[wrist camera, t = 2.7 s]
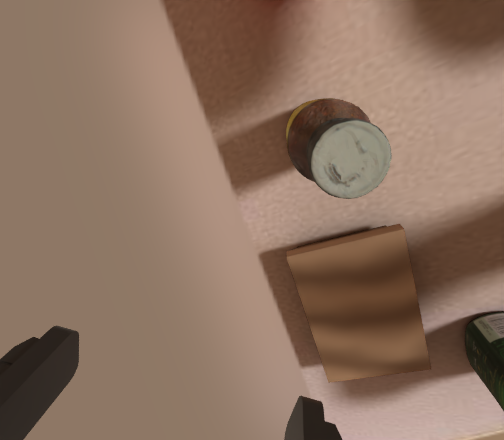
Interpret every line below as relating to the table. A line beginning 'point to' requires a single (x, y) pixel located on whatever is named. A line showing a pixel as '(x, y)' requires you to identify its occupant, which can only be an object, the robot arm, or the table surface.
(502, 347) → the coffee jar
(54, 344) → the robot arm
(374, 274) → the walnut shelf
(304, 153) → the sauce bottle
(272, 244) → the table surface
